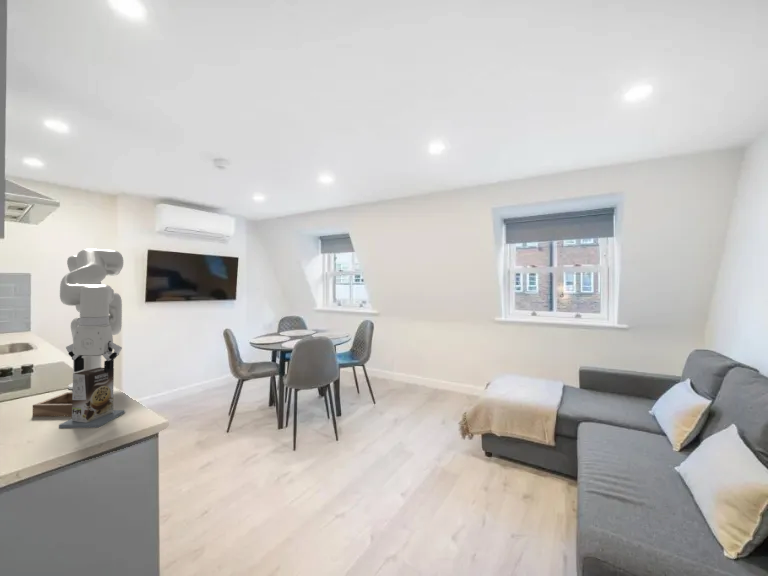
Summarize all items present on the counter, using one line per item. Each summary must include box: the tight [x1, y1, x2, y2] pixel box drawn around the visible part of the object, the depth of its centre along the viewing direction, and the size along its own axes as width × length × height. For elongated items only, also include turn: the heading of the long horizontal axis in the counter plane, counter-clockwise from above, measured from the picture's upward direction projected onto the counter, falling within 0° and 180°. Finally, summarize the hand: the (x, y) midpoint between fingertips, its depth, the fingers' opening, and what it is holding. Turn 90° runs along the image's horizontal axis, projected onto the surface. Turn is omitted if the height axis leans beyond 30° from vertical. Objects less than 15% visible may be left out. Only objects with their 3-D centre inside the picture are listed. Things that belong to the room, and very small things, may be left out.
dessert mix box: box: [71, 367, 115, 423], centre depth 112 cm, size 9×6×16 cm
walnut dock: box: [32, 391, 73, 418], centre depth 121 cm, size 13×13×4 cm
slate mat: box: [58, 409, 126, 429], centre depth 112 cm, size 12×12×1 cm
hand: (93, 370), depth 112 cm, fingers open, 9 cm apart
